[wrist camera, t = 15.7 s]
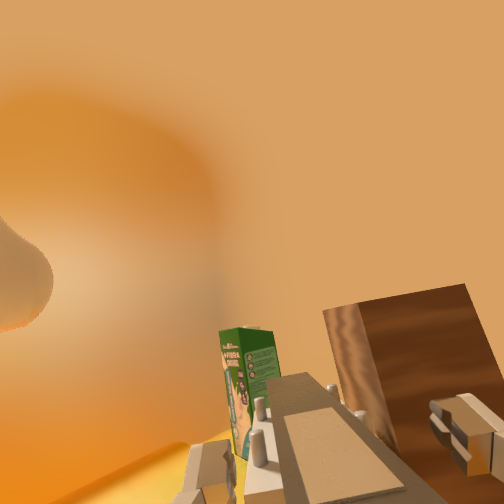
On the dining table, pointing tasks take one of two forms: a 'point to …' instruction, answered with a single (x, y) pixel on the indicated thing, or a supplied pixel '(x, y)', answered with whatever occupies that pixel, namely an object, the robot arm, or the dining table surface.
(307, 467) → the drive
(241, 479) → the dining table surface
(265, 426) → the dock
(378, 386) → the stand
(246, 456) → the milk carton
